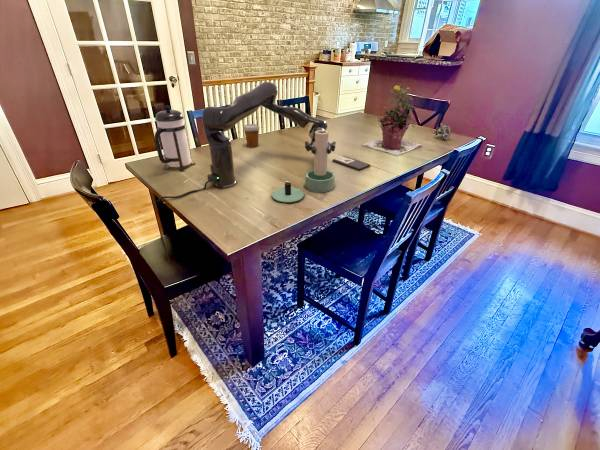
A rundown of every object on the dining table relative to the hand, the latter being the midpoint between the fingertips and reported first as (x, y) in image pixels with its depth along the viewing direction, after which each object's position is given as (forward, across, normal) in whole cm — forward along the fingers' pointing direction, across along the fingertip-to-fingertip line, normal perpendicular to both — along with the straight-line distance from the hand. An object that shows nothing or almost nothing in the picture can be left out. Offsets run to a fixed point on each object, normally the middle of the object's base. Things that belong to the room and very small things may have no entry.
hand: (321, 152), depth 126 cm
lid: (+8, +14, -16) cm, 23 cm away
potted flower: (-62, -48, -18) cm, 80 cm away
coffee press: (-25, +71, -17) cm, 77 cm away
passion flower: (-78, -84, -18) cm, 115 cm away
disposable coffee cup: (-61, +38, -17) cm, 74 cm away
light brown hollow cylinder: (-3, 0, -10) cm, 11 cm away
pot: (-2, 0, -17) cm, 17 cm away
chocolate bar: (-30, -18, -17) cm, 39 cm away
